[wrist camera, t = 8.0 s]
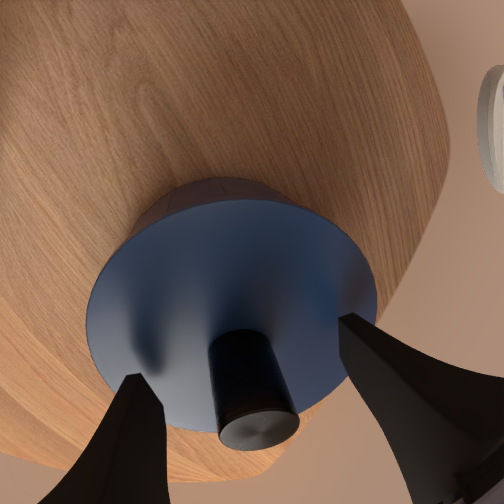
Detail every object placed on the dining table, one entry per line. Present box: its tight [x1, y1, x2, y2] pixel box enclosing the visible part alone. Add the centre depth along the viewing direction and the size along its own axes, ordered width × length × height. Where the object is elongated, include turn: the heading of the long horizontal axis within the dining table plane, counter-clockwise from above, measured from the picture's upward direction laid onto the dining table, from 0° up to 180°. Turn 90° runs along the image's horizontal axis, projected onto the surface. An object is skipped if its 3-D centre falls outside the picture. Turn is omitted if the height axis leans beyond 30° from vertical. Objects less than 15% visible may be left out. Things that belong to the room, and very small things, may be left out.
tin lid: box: [86, 195, 377, 451], centre depth 10 cm, size 11×11×5 cm
